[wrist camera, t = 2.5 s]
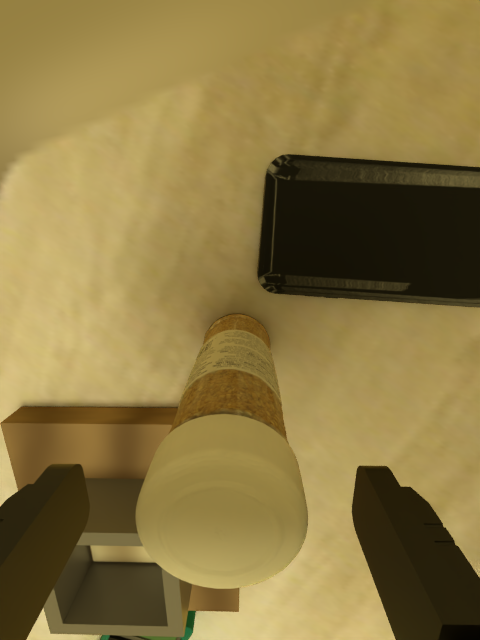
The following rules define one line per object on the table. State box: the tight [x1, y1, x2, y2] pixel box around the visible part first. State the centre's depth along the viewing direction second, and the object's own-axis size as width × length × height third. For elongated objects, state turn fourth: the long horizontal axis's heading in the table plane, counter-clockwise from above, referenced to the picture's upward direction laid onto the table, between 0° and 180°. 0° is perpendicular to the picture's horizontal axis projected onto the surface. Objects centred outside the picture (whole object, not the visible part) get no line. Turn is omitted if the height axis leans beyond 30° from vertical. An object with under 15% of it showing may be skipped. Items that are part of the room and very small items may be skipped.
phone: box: [258, 154, 480, 307], centre depth 18 cm, size 8×1×15 cm
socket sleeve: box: [43, 478, 192, 637], centre depth 21 cm, size 9×9×4 cm
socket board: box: [0, 407, 239, 612], centre depth 23 cm, size 16×18×2 cm
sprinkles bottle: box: [135, 314, 308, 589], centre depth 14 cm, size 5×5×13 cm
